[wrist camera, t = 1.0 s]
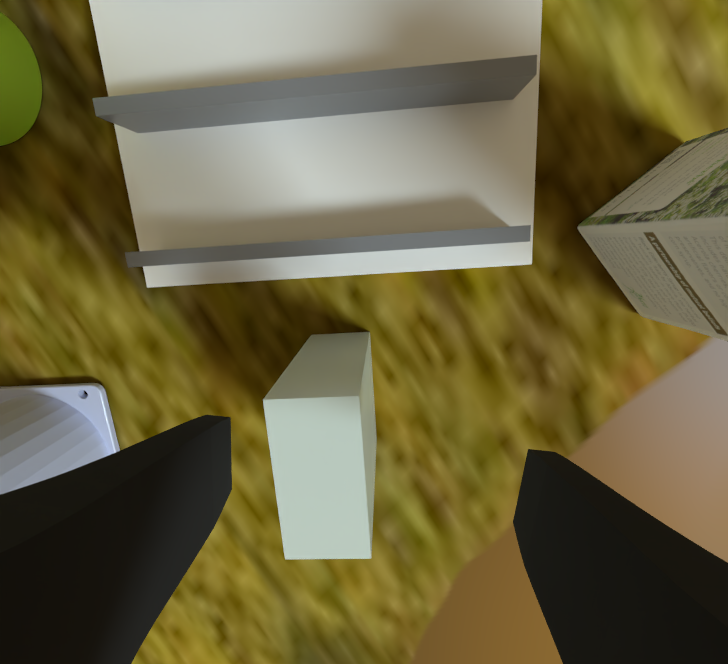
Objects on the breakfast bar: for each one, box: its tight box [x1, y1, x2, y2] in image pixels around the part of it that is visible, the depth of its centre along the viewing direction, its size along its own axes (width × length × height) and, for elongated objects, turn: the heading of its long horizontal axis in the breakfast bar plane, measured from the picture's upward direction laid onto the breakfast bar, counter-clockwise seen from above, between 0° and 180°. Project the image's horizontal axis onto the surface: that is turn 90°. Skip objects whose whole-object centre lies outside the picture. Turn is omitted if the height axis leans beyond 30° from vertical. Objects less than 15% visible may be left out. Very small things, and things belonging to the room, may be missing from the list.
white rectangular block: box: [263, 332, 377, 559], centre depth 16 cm, size 6×3×8 cm, turn 4°
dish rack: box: [89, 0, 542, 288], centre depth 15 cm, size 18×14×4 cm
